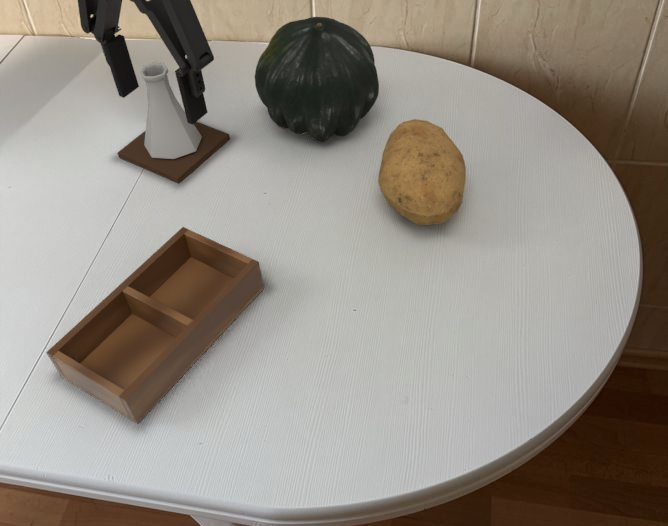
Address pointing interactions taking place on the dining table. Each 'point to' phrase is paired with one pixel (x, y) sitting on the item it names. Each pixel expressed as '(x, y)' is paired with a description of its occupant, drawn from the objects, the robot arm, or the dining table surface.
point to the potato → (422, 173)
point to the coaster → (180, 165)
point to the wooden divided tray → (157, 323)
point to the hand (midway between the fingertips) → (162, 104)
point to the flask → (166, 117)
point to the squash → (317, 77)
